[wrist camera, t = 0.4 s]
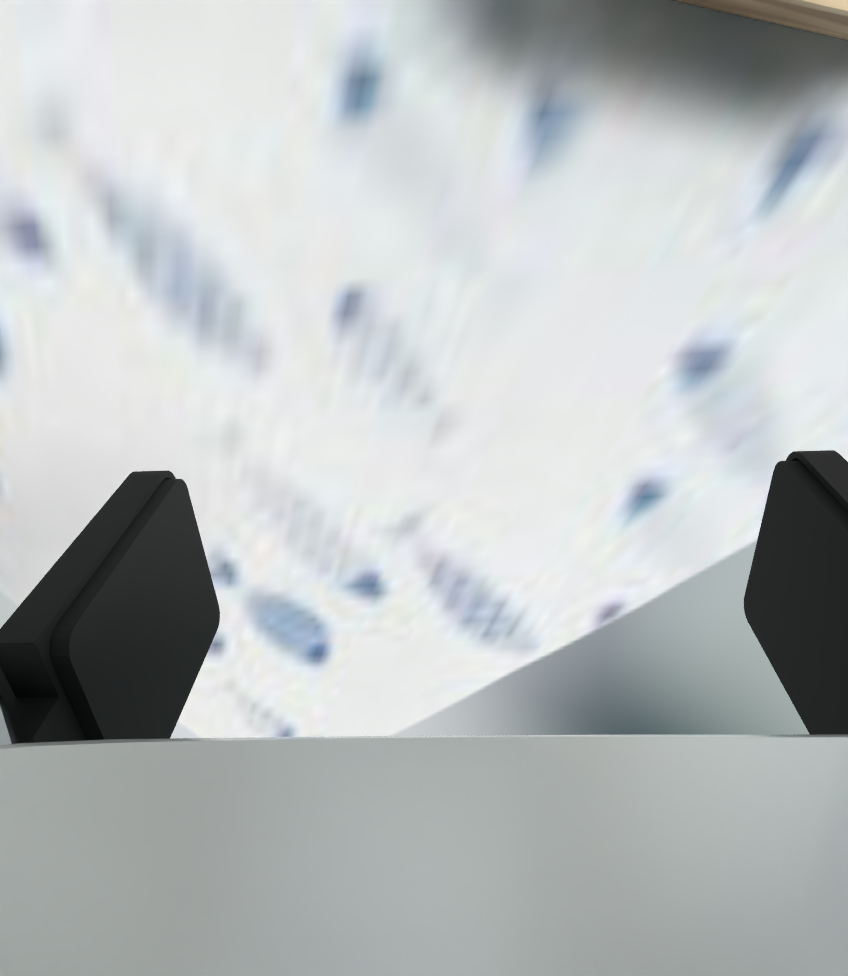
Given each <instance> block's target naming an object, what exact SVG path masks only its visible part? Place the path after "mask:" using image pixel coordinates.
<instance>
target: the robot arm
mask: <svg viewBox="0 0 848 976" xmlns="http://www.w3.org/2000/svg"><path fill="white" fill-rule="evenodd" d="M744 610H745V615H746V618H747V620H748V623H749V624H750V626H751V628H752V630H753V632H754V634H755V635H756V637H757V639H758V641H759V642H760V644H761V646H762V648H763V650H764V652H765V654H766V655H767V657H768V659H769V661H770V663H771V664H772V666H773V668H774V670H775V672H776V673H777V675H778V677H779V679H780V681H781V683H782V684H783V686H784V688H785V690H786V692H787V694H788V695H789V697H790V699H791V701H792V703H793V704H794V706H795V708H796V710H797V712H798V713H799V715H800V717H801V719H802V721H803V723H804V724H805V726H806V728H807V730H808V732H809V733H810V735H502V736H501V735H498V736H497V735H494V736H493V735H488V736H487V735H485V736H358V737H270V738H190V739H188V738H184V739H170V737H171V734H172V732H173V730H174V728H175V726H176V723H177V721H178V719H179V716H180V714H181V712H182V709H183V707H184V705H185V703H186V700H187V698H188V696H189V693H190V691H191V689H192V687H193V684H194V682H195V680H196V677H197V675H198V673H199V670H200V668H201V666H202V664H203V661H204V659H205V657H206V654H207V652H208V650H209V648H210V645H211V643H212V641H213V638H214V636H215V634H216V631H217V629H218V626H219V619H220V611H219V605H218V601H217V597H216V594H215V590H214V586H213V582H212V579H211V575H210V571H209V567H208V564H207V560H206V556H205V552H204V549H203V545H202V541H201V537H200V534H199V530H198V526H197V522H196V518H195V515H194V511H193V507H192V503H191V500H190V496H189V492H188V488H187V486H186V483H185V482H184V481H183V480H182V479H176V478H175V476H174V475H173V473H172V472H170V471H142V472H132V473H131V474H130V475H129V476H128V477H127V478H126V479H125V481H124V482H123V483H122V484H121V485H120V487H119V488H118V489H117V490H116V491H115V493H114V494H113V495H112V496H111V497H110V498H109V500H108V501H107V502H106V503H105V504H104V506H103V507H102V508H101V509H100V510H99V512H98V513H97V514H96V515H95V516H94V518H93V519H92V520H91V521H90V522H89V524H88V525H87V526H86V527H85V528H84V530H83V531H82V532H81V533H80V534H79V536H78V537H77V538H76V539H75V540H74V541H73V543H72V544H71V545H70V546H69V547H68V549H67V550H66V551H65V552H64V553H63V555H62V556H61V557H60V558H59V559H58V561H57V562H56V563H55V564H54V565H53V567H52V568H51V569H50V570H49V571H48V573H47V574H46V575H45V576H44V577H43V579H42V580H41V581H40V582H39V583H38V584H37V586H36V587H35V588H34V589H33V590H32V592H31V593H30V594H29V595H28V596H27V598H26V599H25V600H24V601H23V602H22V604H21V605H20V606H19V607H18V608H17V610H16V611H15V612H14V613H13V615H12V616H11V617H10V618H9V619H8V620H7V622H6V623H5V624H4V625H3V626H2V628H1V629H0V976H848V462H847V461H846V460H845V459H844V458H843V457H842V456H841V455H840V454H839V453H837V452H835V451H797V452H792V453H791V454H790V455H789V456H788V458H787V459H786V461H780V462H778V463H777V465H776V466H775V469H774V472H773V476H772V480H771V484H770V489H769V493H768V497H767V502H766V506H765V510H764V515H763V519H762V523H761V527H760V532H759V536H758V540H757V545H756V550H755V553H754V558H753V562H752V567H751V571H750V575H749V580H748V583H747V588H746V592H745V597H744Z"/></svg>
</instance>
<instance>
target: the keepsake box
mask: <svg viewBox="0 0 848 976" xmlns="http://www.w3.org/2000/svg"><path fill="white" fill-rule="evenodd" d="M673 1H677V2H682V3H686V4H691V5H695V6H700V7H704V8H708V9H713V10H717V11H722V12H726V13H730V14H735V15H739V16H744V17H748V18H752V19H757V20H761V21H766V22H770V23H775V24H779V25H783V26H788V27H792V28H797V29H801V30H805V31H810V32H814V33H819V34H823V35H828V36H832V37H836V38H841V39H845V40H848V17H847V16H842V15H838V14H834V13H829V12H825V11H820V10H816V9H812V8H807V7H803V6H799V5H794V4H790V3H785V2H781V1H777V0H673Z"/></svg>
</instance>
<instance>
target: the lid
mask: <svg viewBox="0 0 848 976" xmlns="http://www.w3.org/2000/svg"><path fill="white" fill-rule="evenodd" d="M777 1H781V2H785V3H790V4H794V5H799V6H803V7H807V8H812V9H816V10H820V11H825V12H829V13H834V14H838V15H842V16H847V17H848V0H777Z"/></svg>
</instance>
